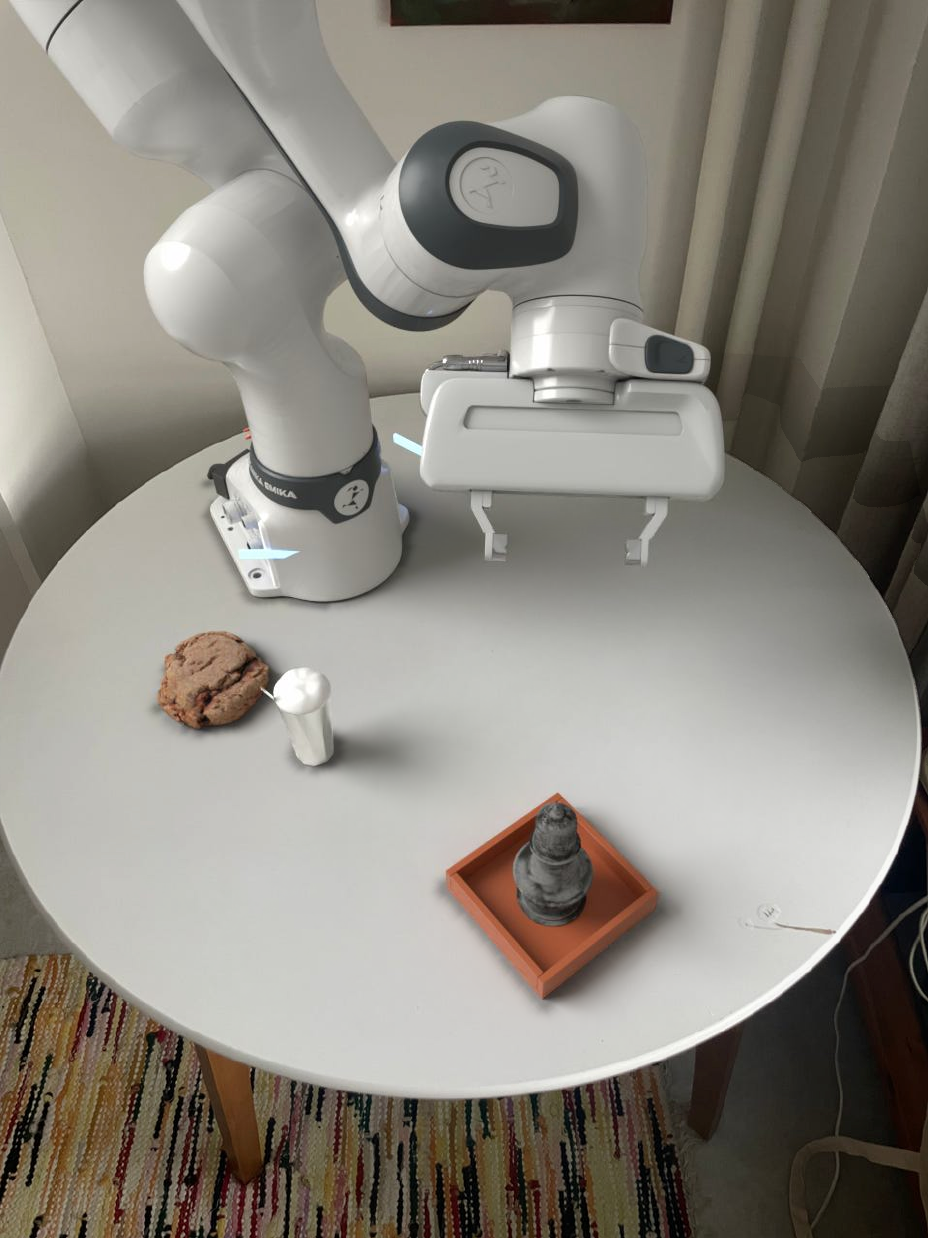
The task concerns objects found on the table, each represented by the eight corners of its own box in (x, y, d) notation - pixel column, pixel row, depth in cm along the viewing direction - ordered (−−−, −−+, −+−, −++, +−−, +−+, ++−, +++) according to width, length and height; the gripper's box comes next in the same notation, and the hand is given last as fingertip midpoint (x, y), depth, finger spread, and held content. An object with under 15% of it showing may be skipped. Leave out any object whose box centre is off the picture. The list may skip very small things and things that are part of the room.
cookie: (242, 628, 98) (236, 606, 96) (286, 702, 92) (281, 680, 89) (141, 669, 95) (133, 647, 93) (180, 749, 88) (171, 727, 86)
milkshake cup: (273, 743, 89) (252, 667, 81) (332, 722, 90) (317, 646, 83) (288, 783, 86) (268, 708, 78) (349, 761, 87) (335, 685, 80)
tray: (446, 887, 79) (445, 870, 77) (556, 809, 83) (557, 791, 81) (542, 999, 72) (543, 984, 71) (655, 908, 77) (659, 892, 75)
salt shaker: (585, 937, 75) (596, 851, 66) (506, 923, 76) (506, 836, 67) (594, 866, 79) (606, 776, 70) (519, 854, 80) (521, 763, 71)
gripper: (416, 342, 67) (407, 555, 67) (735, 351, 65) (724, 568, 66) (426, 363, 73) (418, 558, 73) (718, 372, 71) (708, 570, 72)
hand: (565, 563), depth 70 cm, fingers open, 8 cm apart
